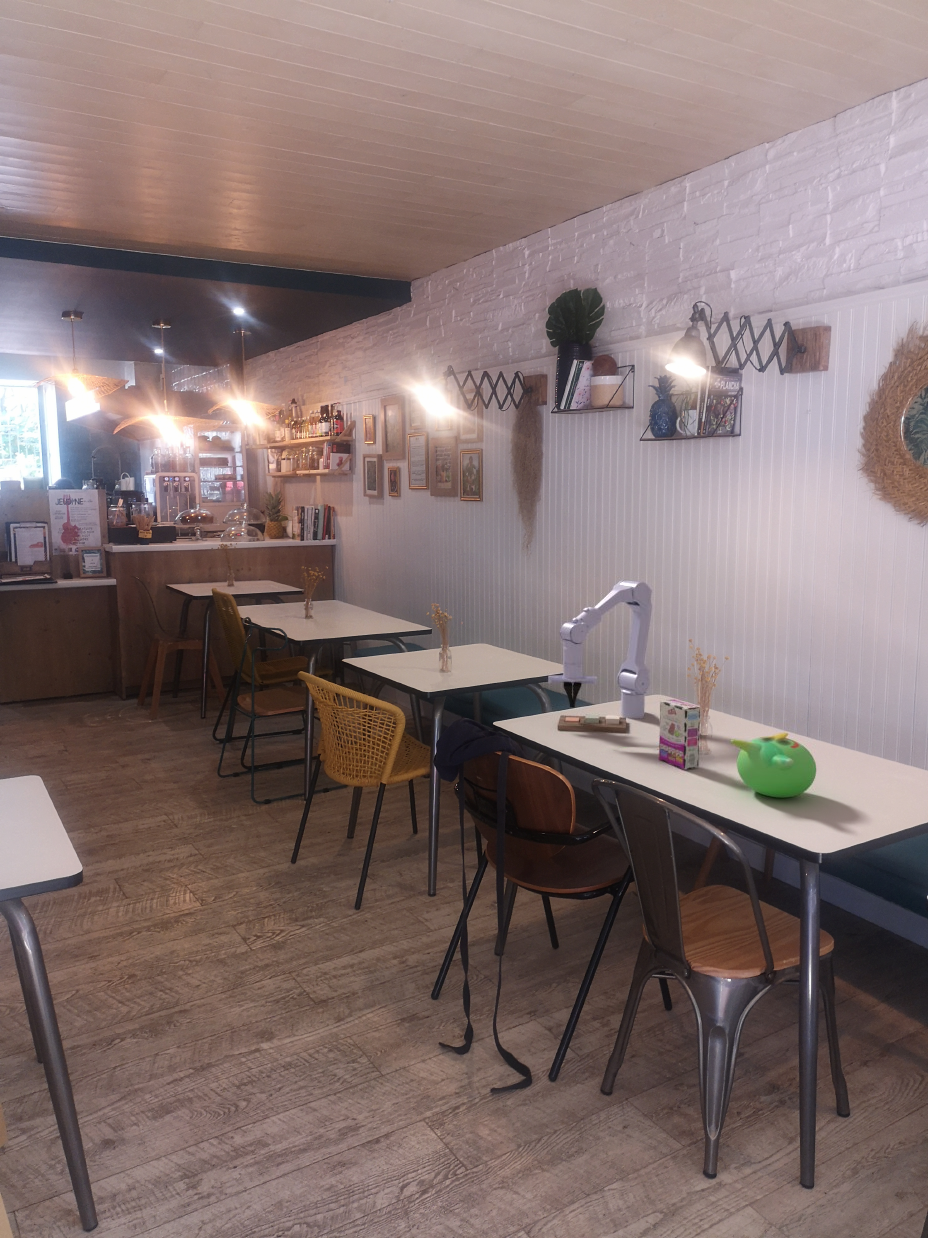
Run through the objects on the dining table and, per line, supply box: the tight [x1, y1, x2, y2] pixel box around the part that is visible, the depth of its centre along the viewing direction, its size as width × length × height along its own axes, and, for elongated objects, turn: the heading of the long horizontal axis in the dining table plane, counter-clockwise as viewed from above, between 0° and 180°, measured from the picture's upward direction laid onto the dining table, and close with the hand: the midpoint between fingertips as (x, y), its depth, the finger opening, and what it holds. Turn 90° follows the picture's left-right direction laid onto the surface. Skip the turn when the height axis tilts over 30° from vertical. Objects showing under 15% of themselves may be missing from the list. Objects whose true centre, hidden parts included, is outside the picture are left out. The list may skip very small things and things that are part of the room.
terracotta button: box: [565, 717, 579, 723], centre depth 276 cm, size 4×4×3 cm
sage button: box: [585, 714, 600, 723], centre depth 275 cm, size 4×4×3 cm
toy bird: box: [730, 732, 817, 798], centre depth 216 cm, size 18×17×15 cm
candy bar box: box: [658, 699, 701, 771], centre depth 241 cm, size 11×5×16 cm, turn 25°
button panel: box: [557, 714, 627, 734], centre depth 275 cm, size 12×20×3 cm, turn 80°
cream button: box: [605, 714, 620, 724], centre depth 274 cm, size 4×4×3 cm
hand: (572, 706), depth 275 cm, fingers closed
